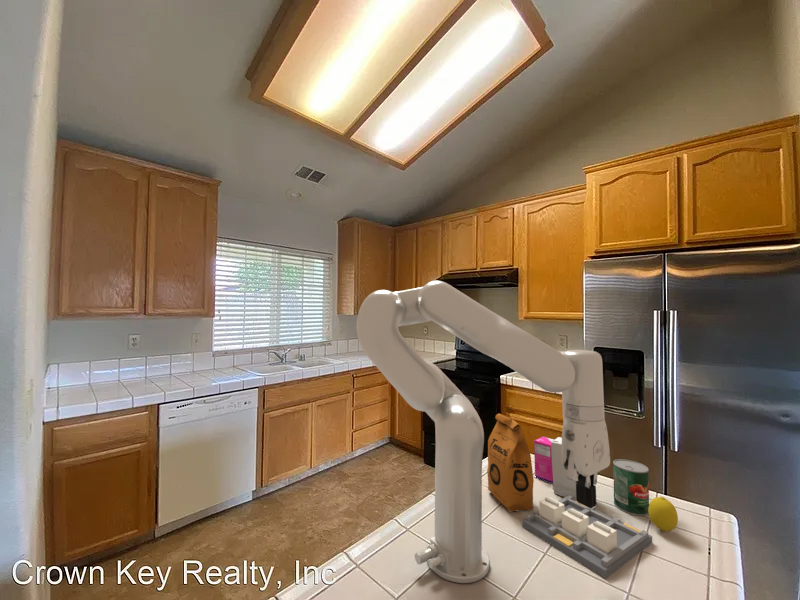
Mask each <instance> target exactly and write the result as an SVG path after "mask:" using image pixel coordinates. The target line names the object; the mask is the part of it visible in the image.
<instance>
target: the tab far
mask: <svg viewBox="0 0 800 600" xmlns="http://www.w3.org/2000/svg"><path fill="white" fill-rule="evenodd" d="M558 501H559V500H556V499H554V498H552V497H550V496H546V497H544V499H542V500H540V501H539V502H538V503H539V504H538V505H539V506H538V507H539V508H538V510H539V516H541V517H543V518H545V519H547V520H548V521H550V522H552V523H554V524H557V523H559V522H561V521H562V513H563V512H565V505H564V504H562V503H560V502H558Z"/></svg>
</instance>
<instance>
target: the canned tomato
mask: <svg viewBox="0 0 800 600" xmlns="http://www.w3.org/2000/svg"><path fill="white" fill-rule="evenodd" d="M612 464H613V465H612V466H613V468H612V469H613V505H614V506H615V507H616V508H617V509H618V510H620V511H622V512H623V513H624V512H625V513H627V514H629V515H633V516H639V517H643V516H644V517H645V516H649V513H648V508H649V504H650V488H649V487H650V486H649V485H650V478H649V477H650V476H649V474H650V473H649V467H647V466H646V465H645V464H643V463H640V462H637V461H635V460H634V461H633V460H630V459H621V458H620V459H614V460H613V463H612Z"/></svg>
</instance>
